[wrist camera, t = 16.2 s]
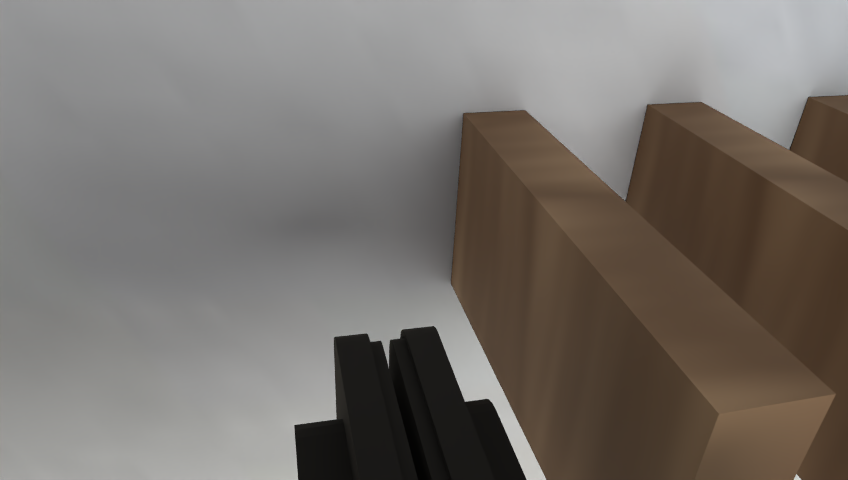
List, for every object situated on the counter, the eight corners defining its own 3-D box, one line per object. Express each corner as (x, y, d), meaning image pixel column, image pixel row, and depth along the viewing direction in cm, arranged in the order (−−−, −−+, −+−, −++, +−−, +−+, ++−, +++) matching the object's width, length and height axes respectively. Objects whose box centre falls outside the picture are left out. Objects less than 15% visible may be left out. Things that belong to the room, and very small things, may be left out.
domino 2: (611, 266, 19) (893, 582, 11) (647, 104, 17) (1049, 357, 8) (658, 260, 20) (965, 562, 11) (701, 102, 17) (1139, 342, 9)
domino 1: (450, 283, 18) (629, 650, 10) (463, 113, 16) (718, 414, 7) (504, 277, 18) (720, 626, 10) (525, 110, 16) (836, 394, 8)
